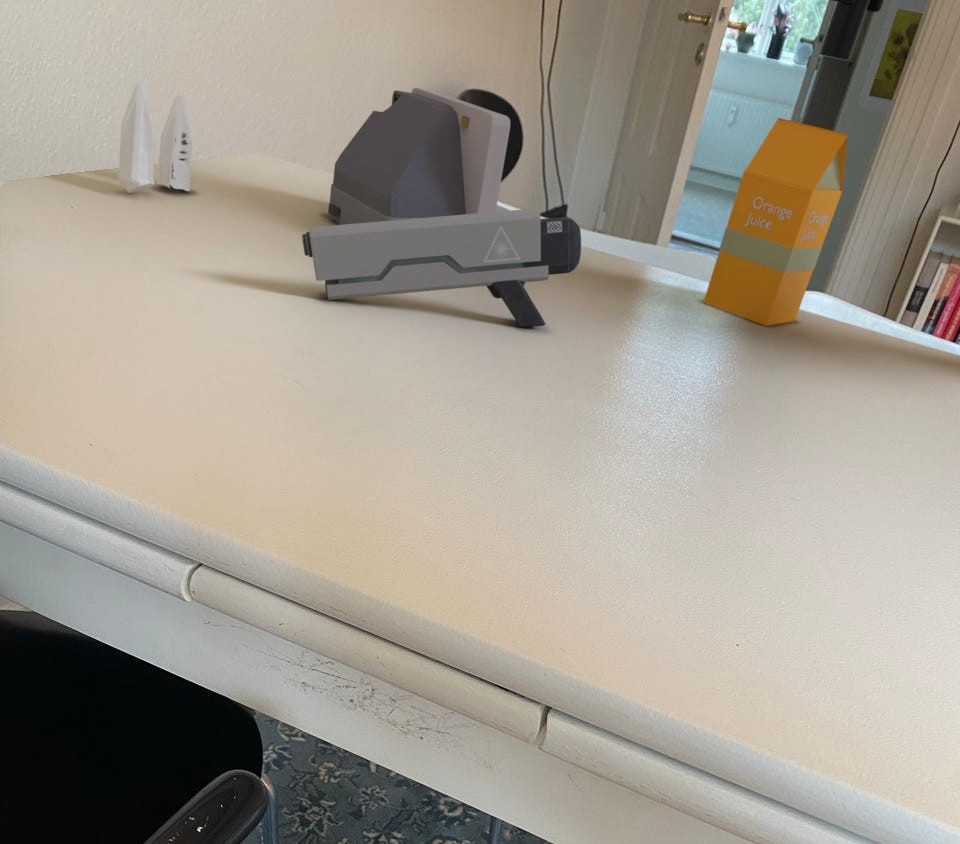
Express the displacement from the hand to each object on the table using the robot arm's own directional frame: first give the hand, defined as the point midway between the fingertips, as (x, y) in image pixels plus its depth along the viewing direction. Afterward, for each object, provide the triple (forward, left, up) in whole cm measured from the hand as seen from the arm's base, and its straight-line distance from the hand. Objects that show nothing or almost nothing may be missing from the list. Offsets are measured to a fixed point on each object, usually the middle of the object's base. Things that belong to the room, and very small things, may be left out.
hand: (852, 3), depth 92 cm
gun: (+45, -5, -31) cm, 55 cm away
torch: (0, 0, -5) cm, 5 cm away
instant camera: (+27, -31, -31) cm, 52 cm away
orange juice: (0, 0, -31) cm, 31 cm away
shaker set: (+52, -49, -31) cm, 78 cm away
